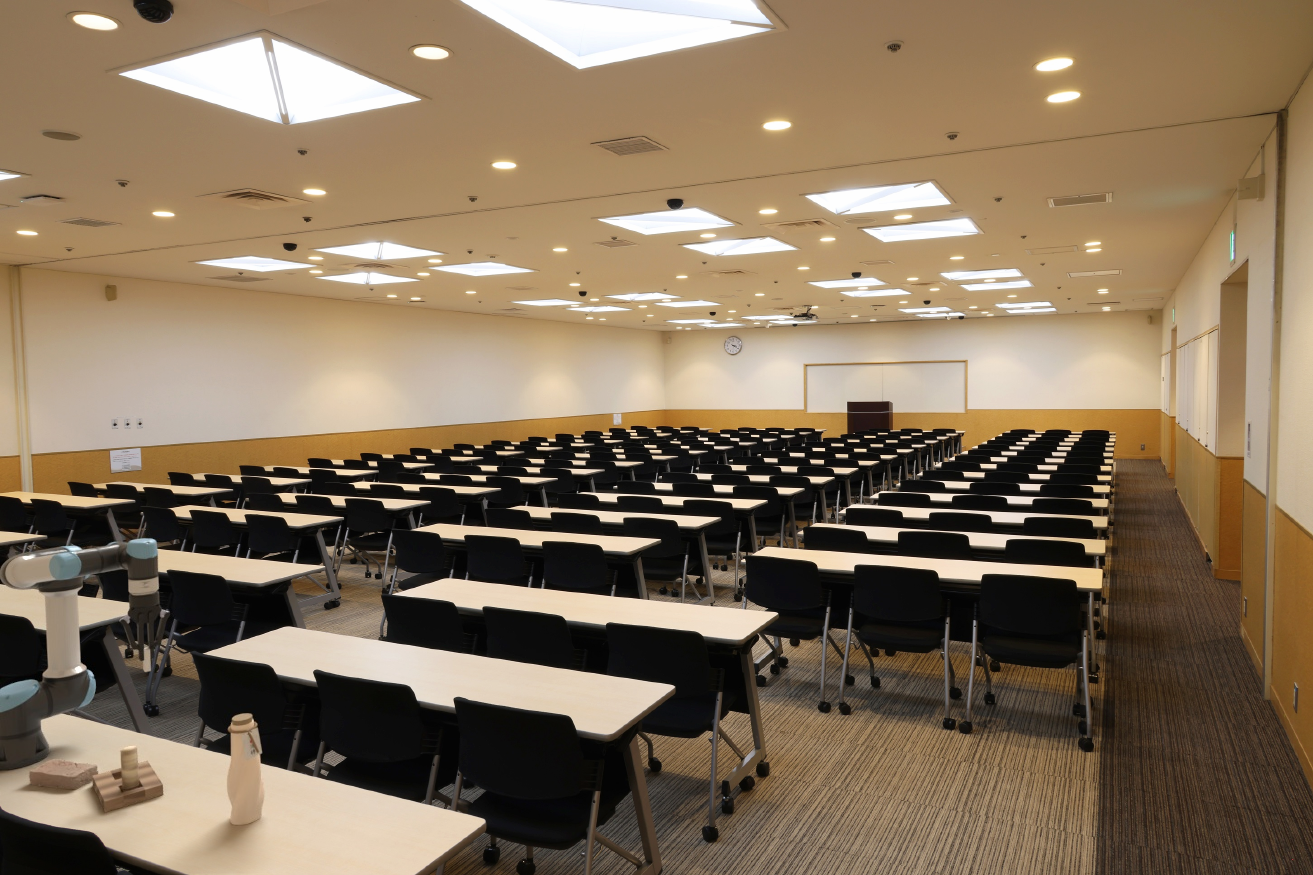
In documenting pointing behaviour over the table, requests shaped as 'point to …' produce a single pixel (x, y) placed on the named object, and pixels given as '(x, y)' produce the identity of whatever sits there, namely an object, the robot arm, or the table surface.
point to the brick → (62, 774)
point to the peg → (129, 768)
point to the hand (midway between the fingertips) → (147, 670)
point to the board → (115, 797)
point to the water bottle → (245, 771)
